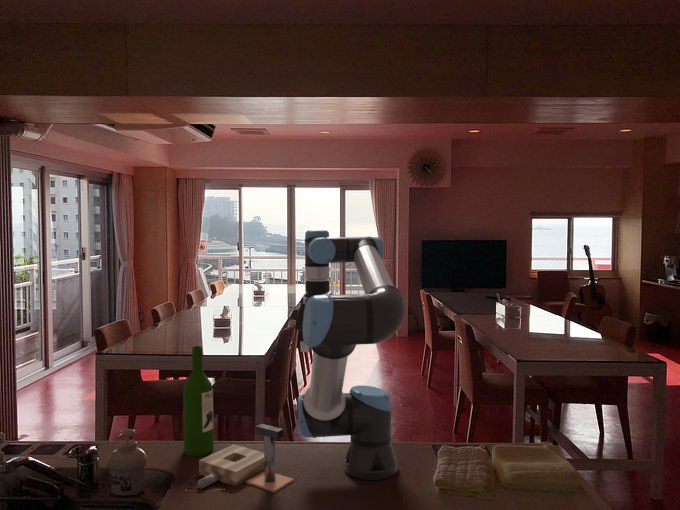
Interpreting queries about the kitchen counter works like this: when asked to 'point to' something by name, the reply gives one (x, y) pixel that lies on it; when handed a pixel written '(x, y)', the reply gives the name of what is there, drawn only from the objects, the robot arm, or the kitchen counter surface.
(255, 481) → the mat
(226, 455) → the jig
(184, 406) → the wine bottle
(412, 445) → the kitchen counter surface
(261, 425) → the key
